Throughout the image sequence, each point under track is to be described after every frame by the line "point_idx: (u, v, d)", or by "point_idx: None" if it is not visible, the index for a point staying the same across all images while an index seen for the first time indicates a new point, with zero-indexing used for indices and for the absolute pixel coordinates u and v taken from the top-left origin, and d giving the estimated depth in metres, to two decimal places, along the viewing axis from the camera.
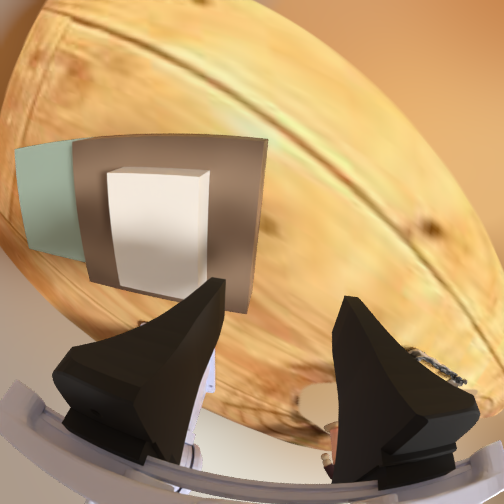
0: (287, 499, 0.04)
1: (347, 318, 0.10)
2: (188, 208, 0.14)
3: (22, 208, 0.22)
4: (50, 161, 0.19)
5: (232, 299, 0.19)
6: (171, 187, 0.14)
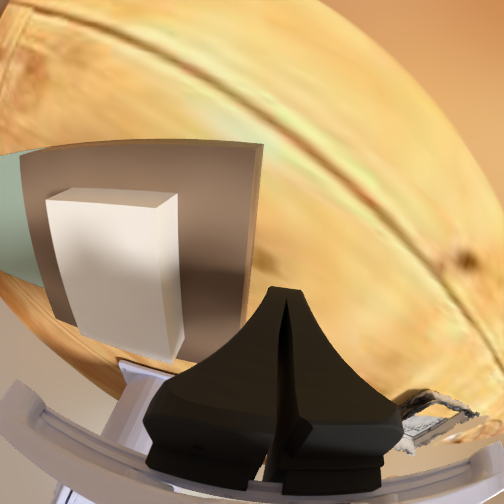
0: (287, 499, 0.04)
1: (284, 311, 0.10)
2: (145, 253, 0.10)
3: None
4: (9, 176, 0.14)
5: None
6: (120, 222, 0.09)
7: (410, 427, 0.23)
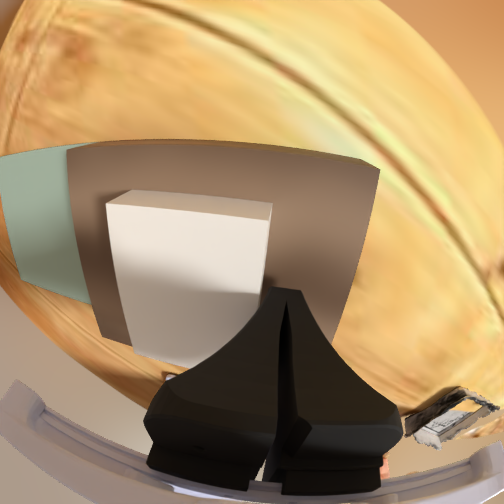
0: (287, 499, 0.04)
1: (284, 311, 0.10)
2: (246, 268, 0.09)
3: (9, 232, 0.17)
4: (39, 175, 0.14)
5: None
6: (218, 234, 0.09)
7: (438, 423, 0.22)
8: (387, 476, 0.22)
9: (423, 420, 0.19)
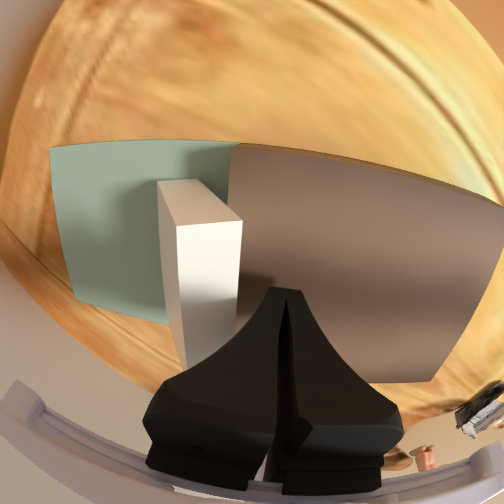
0: (287, 499, 0.04)
1: (284, 311, 0.10)
2: (175, 271, 0.09)
3: (64, 243, 0.16)
4: (130, 174, 0.13)
5: (425, 371, 0.13)
6: (169, 228, 0.09)
7: (476, 415, 0.22)
8: (434, 466, 0.21)
9: (471, 412, 0.19)
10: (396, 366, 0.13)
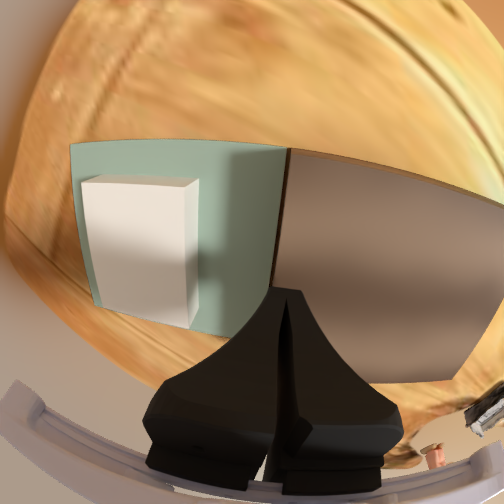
0: (287, 499, 0.04)
1: (284, 311, 0.10)
2: None
3: (84, 246, 0.16)
4: (166, 174, 0.13)
5: (448, 369, 0.13)
6: None
7: (483, 414, 0.22)
8: (444, 463, 0.21)
9: (480, 411, 0.19)
10: (424, 365, 0.13)
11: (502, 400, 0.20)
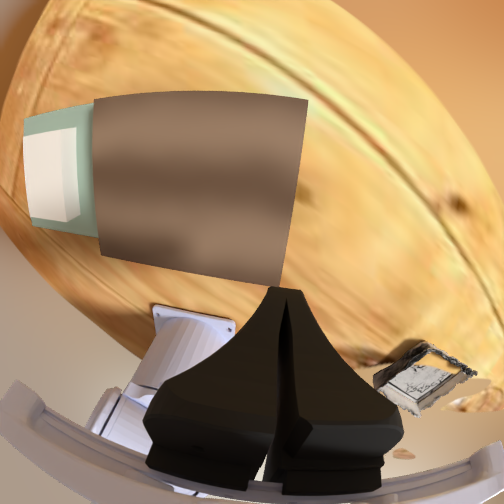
0: (287, 499, 0.04)
1: (284, 311, 0.10)
2: None
3: None
4: (63, 128, 0.18)
5: (264, 270, 0.18)
6: None
7: (412, 387, 0.27)
8: None
9: (389, 374, 0.24)
10: (226, 257, 0.18)
11: (435, 372, 0.25)
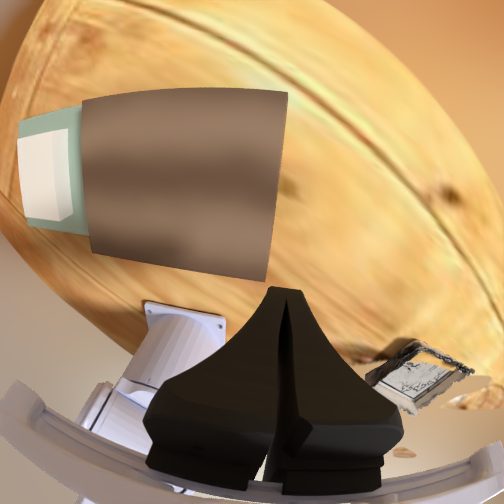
0: (287, 499, 0.04)
1: (284, 311, 0.10)
2: None
3: None
4: (55, 130, 0.18)
5: (250, 265, 0.18)
6: None
7: (408, 386, 0.27)
8: None
9: (381, 374, 0.24)
10: (211, 251, 0.18)
11: (430, 370, 0.25)
